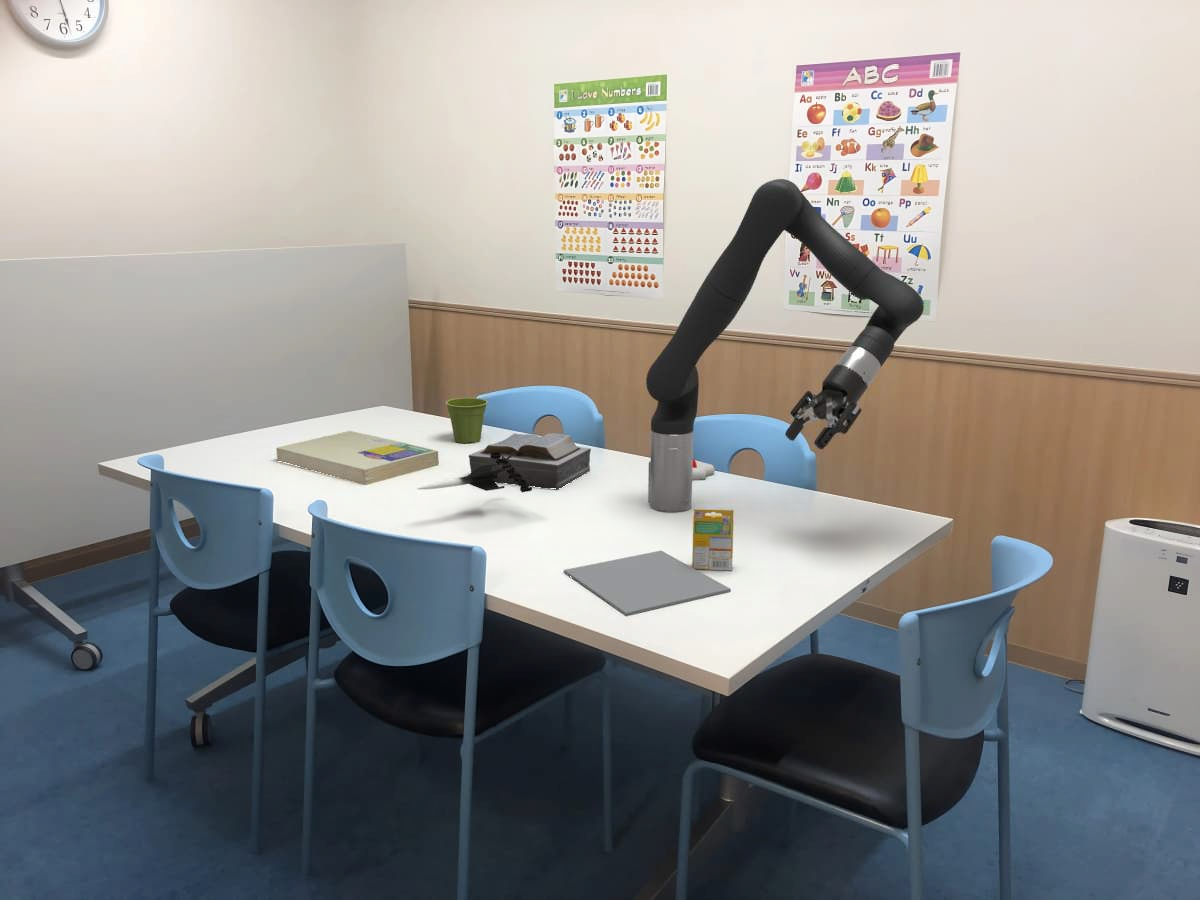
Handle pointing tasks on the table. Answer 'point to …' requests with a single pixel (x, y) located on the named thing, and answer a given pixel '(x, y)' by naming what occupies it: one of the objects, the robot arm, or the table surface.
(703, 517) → the crayon box
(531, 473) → the bible
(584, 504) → the table surface
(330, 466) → the puzzle box
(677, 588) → the slate mat
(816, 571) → the table surface
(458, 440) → the plant pot
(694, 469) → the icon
